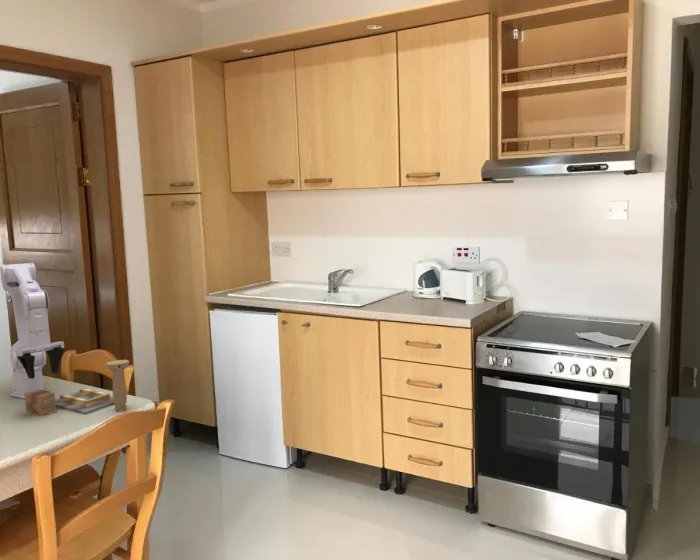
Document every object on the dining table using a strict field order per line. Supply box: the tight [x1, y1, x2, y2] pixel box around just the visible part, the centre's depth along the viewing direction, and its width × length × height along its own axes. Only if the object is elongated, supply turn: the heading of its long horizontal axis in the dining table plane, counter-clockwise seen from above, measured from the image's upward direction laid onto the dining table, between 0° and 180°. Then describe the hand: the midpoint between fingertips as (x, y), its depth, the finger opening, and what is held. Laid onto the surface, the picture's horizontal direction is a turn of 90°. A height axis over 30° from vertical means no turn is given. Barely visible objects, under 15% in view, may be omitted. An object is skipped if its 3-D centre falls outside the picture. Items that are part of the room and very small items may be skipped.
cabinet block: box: [24, 389, 57, 416], centre depth 188 cm, size 9×5×6 cm, turn 60°
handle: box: [106, 359, 130, 412], centre depth 188 cm, size 5×6×15 cm
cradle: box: [55, 387, 114, 415], centre depth 196 cm, size 20×14×3 cm
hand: (43, 375), depth 186 cm, fingers open, 7 cm apart
